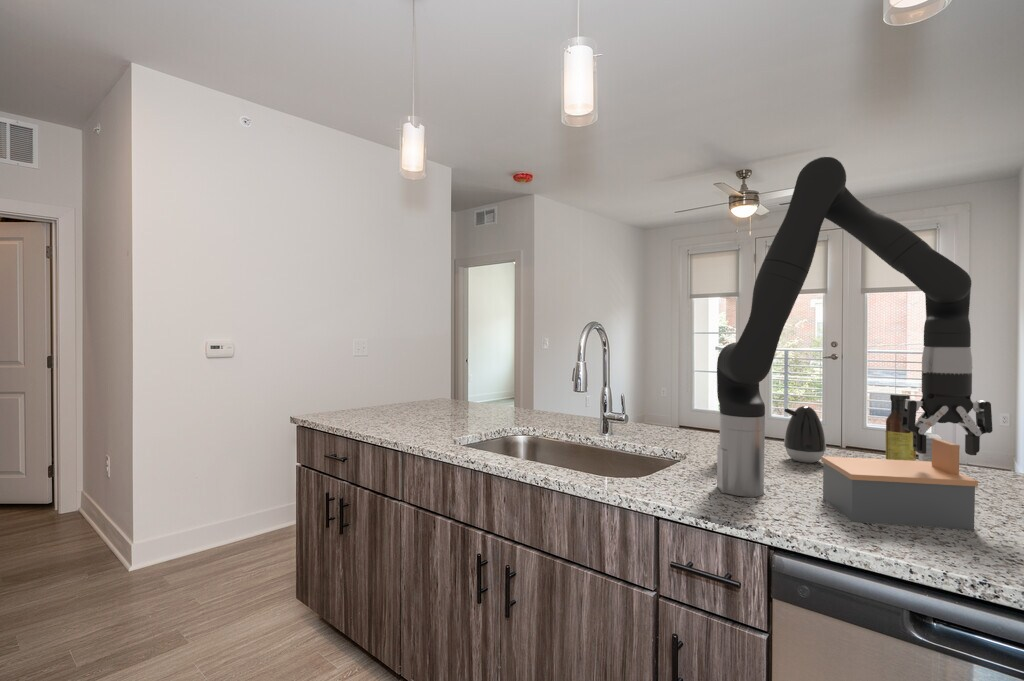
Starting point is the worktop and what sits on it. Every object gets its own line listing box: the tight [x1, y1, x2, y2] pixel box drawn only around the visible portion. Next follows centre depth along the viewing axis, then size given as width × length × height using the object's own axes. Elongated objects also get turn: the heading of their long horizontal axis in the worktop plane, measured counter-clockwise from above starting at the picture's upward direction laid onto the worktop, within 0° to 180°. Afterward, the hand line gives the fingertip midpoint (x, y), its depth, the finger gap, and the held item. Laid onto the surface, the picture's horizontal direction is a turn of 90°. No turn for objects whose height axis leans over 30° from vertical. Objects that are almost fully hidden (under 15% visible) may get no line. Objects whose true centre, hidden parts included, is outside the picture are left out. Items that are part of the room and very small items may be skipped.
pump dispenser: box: [783, 405, 827, 464], centre depth 146 cm, size 10×10×15 cm
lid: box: [820, 438, 979, 487], centre depth 104 cm, size 21×15×7 cm
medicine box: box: [918, 432, 944, 462], centre depth 139 cm, size 8×4×9 cm, turn 148°
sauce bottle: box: [885, 393, 917, 461], centre depth 135 cm, size 7×6×20 cm
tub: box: [822, 462, 976, 531], centre depth 104 cm, size 20×14×8 cm
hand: (945, 453), depth 102 cm, fingers open, 8 cm apart
